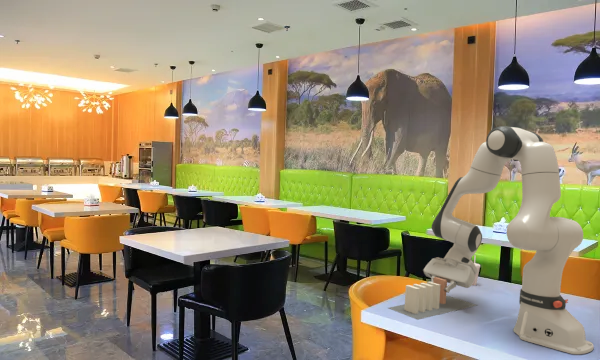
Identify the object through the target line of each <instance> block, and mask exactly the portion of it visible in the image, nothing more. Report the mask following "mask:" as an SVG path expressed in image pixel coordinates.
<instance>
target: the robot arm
mask: <svg viewBox="0 0 600 360" xmlns="http://www.w3.org/2000/svg"><path fill="white" fill-rule="evenodd" d="M510 160H512V161H514V162H519V164H520V170H521V172H520V173H521V187H522V189H521V190H522V199H521V204H520V207H519V210H518V212H517V213H516V216H515V217H513V219H511V221H509V223H508V225H507V227H506V237H507V240H508V242H509V243H510V244H511V246H512V247H514V248H516V249H521V250H525V251H536V252H535V253H534V255H533V257H532V258H531V259H530V260H529V261H528V262H526V263H525V264H524V266H523V269H522V284H521V288H520V290H519V291H520V292H519V310H518V316H517V319H516V322H515V325H514V328H513V332H514V334H516V335H518V337H519V339H520V340H522V341H525V342H529V343H532V344H536V345H540V346H542V347H546V348H549V349H553V350H557V351H560V352H564V353H567V354H571V355H585V354H588V353H590V352H592V351H593V350H594V344H593V342H591V341H589V340H587V339H586V331H585V327H584V324H582V323H581V322H580V321H579V320H578V319H577V318H576V317H575V316H573V314H572V313H571V312H570V311H569V310H567V309H566V305H567V303H569V299H564V298H563V297H562V295H561V288H562V287H561V286H562V277H563V272H564V268H565V266H566V264H567V261H568V260H569V257H570V255H571V254H572V252H574V250H575V249H576V248H578V247H579V246H580V245H581V244H582V242H583V240H584V230H583V228H582V226H581V224H580V223H578V222H577V221H576V220H573V219H570V218H568V217H567V218H566V217H562V216H550V215H551V211H552V208H553V206H554V204H556V203H558V201H559V200H560V199H561V197H562V193H561V192H562V191H561V179H560V171H559V170H560V169H559V163H558V159H557V155H556V151H555V149H554V147H553V145H551V143H549V142H545V141H544V139H543V138H542V137H541V136H540V135H539V134H537V133H536V132H533V131H530V130H525V129H523V128H520V127H513V126H507V125H502V126H501V125H500V126H496V127H494V128H493V129H491V130H490V131H489V132H488V134H487V136H486V139H485V142H483V143H481V144H480V146H479V147H478V149H477V151H476V153H475V155H474V157H473V160H472V162H471V164H470V165H471V166H470V167H469V170H468V171H467V173H466V174H465V175H464V176H461V177H458V179H457V180H456V181H455V182H454V183H453V186H452V187H451V189H450V191H449V193H448V194H447V197H446V199H445V200H444V202H443V204H442V206H441V208H440V210H439V211H438V213H437V214H436V216H435V218H434V220H433V221H432V224H431V230H432V232H433V234H434V236H435V238H439V239H442V240H446V241H448V242H450V243H453V245H452V247H450V249H449V250H448V252H447V253H446V254H445V256H444V257H443V258H442V257H439V256H438V257H434V258H431V260H430V261H429V262H427V264H426V265H425V267H424V268H423V274H424V275H425V276H426V278H427V277H428V278H430V279H431V281H430V282H433V281H434V277H438V278H441V279H445V280H447V286H445V288H444V291H445V292H446V294H447V293H450V291H451V290H452V289H454V288H456V287H457V286H459V287H462V288H465V289H468V288H470V287H471V286H473V285H472V283H473V282H474V279H475V274H477V272H478V270H477V268H476V266H475V264H474V260H472V258H473V256H474V255H476V252H477V251H478V249H479V247H480V245H481V244H482V241H483V233H482V232H481V229H480V227H479V226H478V225H476V224H473V223H471V222H469V221H467V220H466V221H465V220H463V219H460V218H458V217H455V216H454V215H453V212H454V211H455V208H456V207H457V205H458V203H459V202H460V199H461V198H462V197H463V196H465V195H469V194H470V195H474V194H485V193H489V192H492V191H493V190H495V189H496V188H497V186H498V184H499V182H500V179H501V176H502V173H503V171H504V168H505V165H506V163H508V162H509V161H510Z"/></svg>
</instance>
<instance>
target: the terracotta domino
mask: <svg viewBox="0 0 600 360" xmlns="http://www.w3.org/2000/svg"><path fill="white" fill-rule="evenodd" d="M433 283H436V284H440V285H441V286H440V301H439V303H441V304H446V296H447V292H445V291H444V288H445V286H448V282H447V280H445V279H441V278H438V277H434V281H433Z"/></svg>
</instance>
